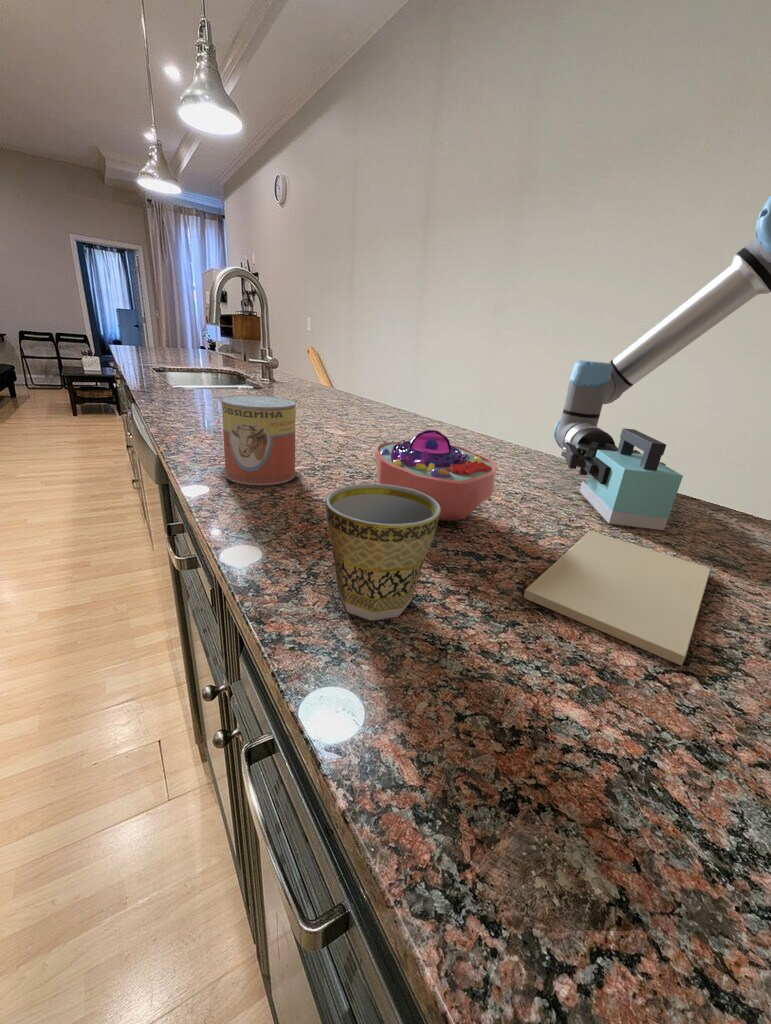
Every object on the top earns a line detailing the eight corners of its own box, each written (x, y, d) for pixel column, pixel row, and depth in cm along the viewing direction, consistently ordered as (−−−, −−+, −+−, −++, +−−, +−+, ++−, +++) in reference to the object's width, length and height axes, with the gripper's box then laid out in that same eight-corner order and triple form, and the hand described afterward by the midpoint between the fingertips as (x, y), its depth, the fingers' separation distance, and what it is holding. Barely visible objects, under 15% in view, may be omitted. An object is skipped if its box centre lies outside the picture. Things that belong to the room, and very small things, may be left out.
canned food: (213, 481, 69) (208, 402, 64) (238, 462, 79) (236, 392, 75) (286, 488, 69) (286, 409, 64) (301, 467, 79) (302, 399, 75)
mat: (587, 536, 61) (589, 530, 61) (708, 575, 53) (711, 568, 53) (523, 597, 45) (524, 589, 45) (681, 666, 37) (685, 656, 37)
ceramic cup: (402, 647, 36) (416, 536, 33) (300, 609, 40) (301, 505, 36) (449, 578, 47) (463, 489, 44) (366, 553, 51) (372, 469, 47)
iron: (577, 489, 81) (595, 421, 77) (622, 494, 81) (643, 426, 76) (608, 523, 67) (632, 442, 62) (664, 530, 66) (692, 448, 61)
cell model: (369, 538, 55) (376, 448, 51) (369, 485, 73) (374, 416, 69) (504, 546, 56) (522, 459, 52) (470, 493, 74) (482, 425, 70)
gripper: (637, 469, 90) (697, 510, 69) (532, 458, 92) (560, 494, 71) (648, 432, 87) (714, 463, 66) (540, 421, 89) (571, 447, 68)
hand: (635, 479), depth 68 cm, fingers closed on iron, 8 cm apart
